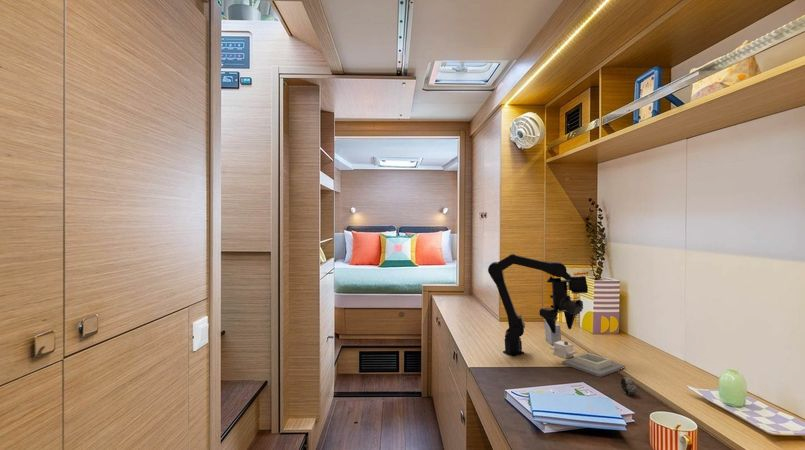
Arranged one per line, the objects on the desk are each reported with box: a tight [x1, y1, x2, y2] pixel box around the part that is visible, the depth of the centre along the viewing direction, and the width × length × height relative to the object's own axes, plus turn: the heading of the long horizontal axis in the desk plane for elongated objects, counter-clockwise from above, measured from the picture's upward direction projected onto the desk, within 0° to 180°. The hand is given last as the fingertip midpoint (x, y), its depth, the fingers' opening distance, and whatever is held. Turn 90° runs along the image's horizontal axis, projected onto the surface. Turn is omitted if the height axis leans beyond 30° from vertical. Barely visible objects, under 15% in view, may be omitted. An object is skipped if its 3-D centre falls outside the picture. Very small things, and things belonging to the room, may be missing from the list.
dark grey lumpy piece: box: [620, 376, 638, 396], centre depth 120 cm, size 3×5×5 cm
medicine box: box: [544, 321, 562, 346], centre depth 173 cm, size 8×4×9 cm, turn 179°
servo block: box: [549, 340, 578, 360], centre depth 156 cm, size 4×10×6 cm, turn 27°
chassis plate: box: [561, 352, 626, 378], centre depth 143 cm, size 14×16×3 cm
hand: (561, 331), depth 156 cm, fingers open, 9 cm apart
